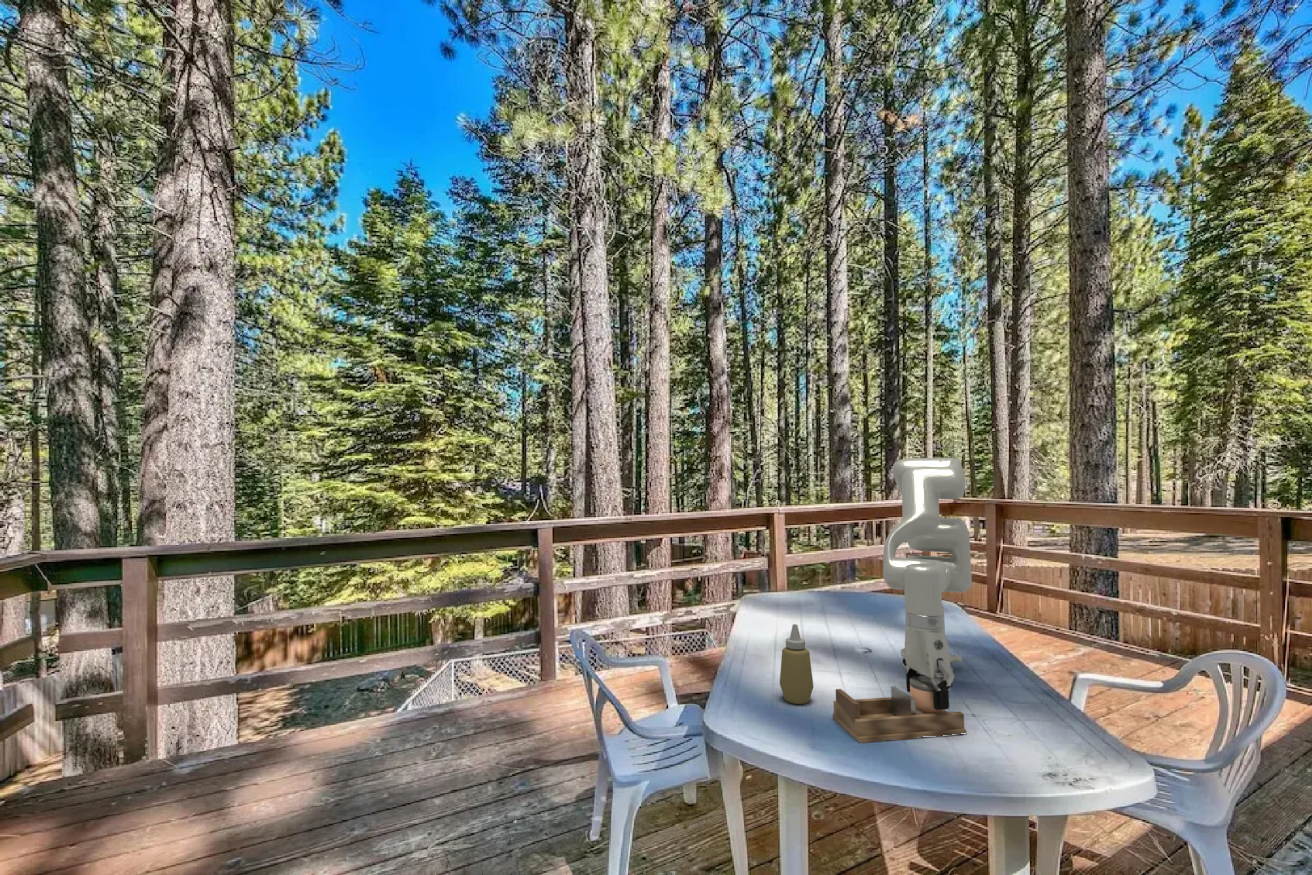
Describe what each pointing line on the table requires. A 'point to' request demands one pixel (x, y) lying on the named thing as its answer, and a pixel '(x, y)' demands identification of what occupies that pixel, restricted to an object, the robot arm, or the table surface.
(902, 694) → the plate
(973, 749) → the table surface
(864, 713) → the wooden tray
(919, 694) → the jar
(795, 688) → the squeeze bottle
